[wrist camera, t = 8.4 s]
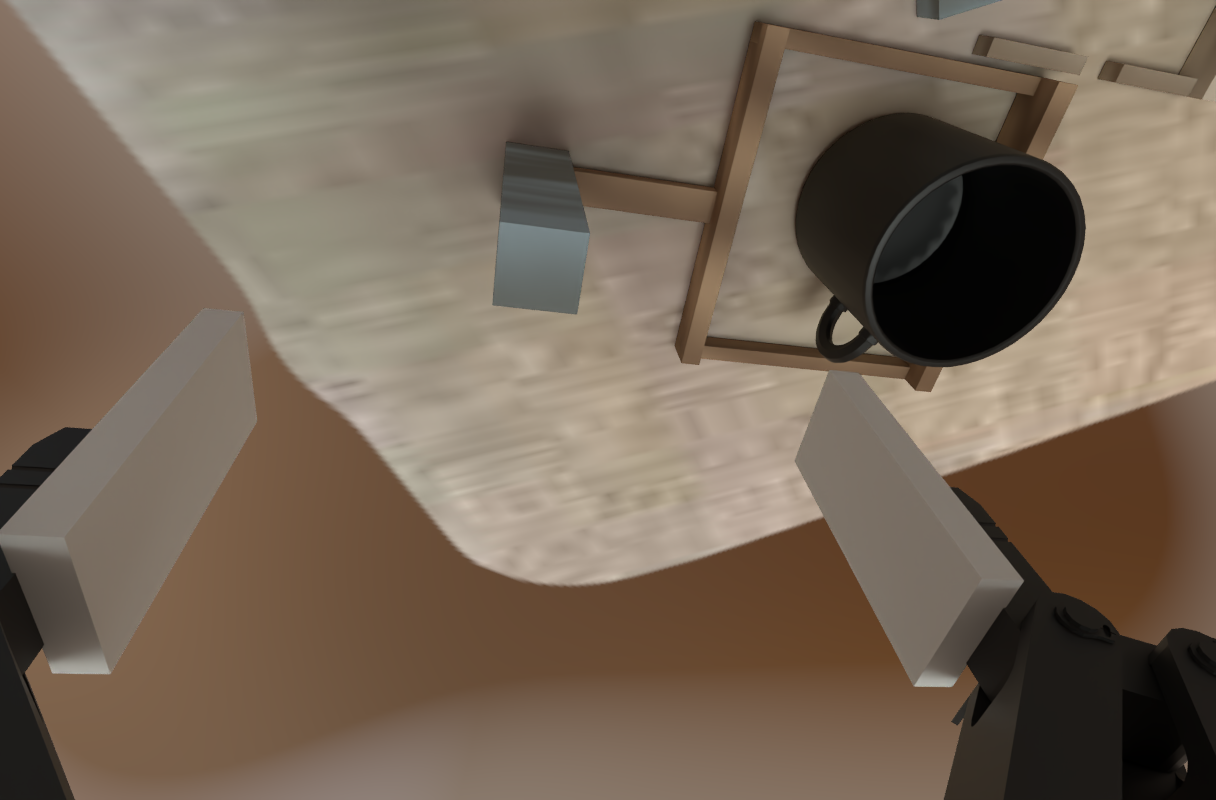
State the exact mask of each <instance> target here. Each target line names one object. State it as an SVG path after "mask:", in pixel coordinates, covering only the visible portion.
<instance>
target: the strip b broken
mask: <svg viewBox="0 0 1216 800" xmlns="http://www.w3.org/2000/svg"><path fill="white" fill-rule="evenodd" d="M998 1H1001V0H917V17H922V18H930V19H937V20H940V19H943V18H947V17H950V16H953V15H956V14H959V13H963V12H966V11H969V10H972V9H975V8H979V7H982V6H985V5H988V4H991V3H995V2H998ZM972 54H976V55H981V56H985V57H990V58H995V59H1001V60H1006V61H1011V62H1016V63H1021V64H1026V65H1031V66H1036V67H1041V68H1046V69H1051V70H1056V71H1061V72H1066V73H1071V74H1076V75H1080V73H1081V71H1082V69H1083V67H1084V65H1085V63H1086V61H1087V59H1088V56H1083V55H1078V54H1073V53H1068V52H1063V51H1058V50H1053V49H1049V48H1044V47H1039V46H1034V45H1029V44H1024V43H1019V42H1014V41H1009V40H1005V39H1000V38H995V37H989V36H982V35H979V38H978V40H977V43H976V45H975V48H974V50H973V53H972ZM1098 79H1102V80H1107V81H1112V82H1116V83H1121V84H1127V85H1132V86H1137V87H1142V88H1147V89H1152V90H1157V91H1162V92H1167V93H1172V94H1177V95H1182V96H1187V97H1192V98H1197V99H1202V100H1207V101H1212V102H1216V8H1215V9H1214V11H1213V13H1212V15H1211V17H1210V19H1209V20H1208V22H1207V24H1206V26H1205V28H1204V29H1203V31H1202V33H1201V35H1200V37H1199V39H1198V40H1197V42H1196V44H1195V46H1194V48H1193V50H1192V51H1191V53H1190V55H1189V57H1188V59H1187V61H1186V62H1185V64H1184V66H1183V68H1182V70H1181V72H1180V73H1179V75H1176V74H1171V73H1166V72H1161V71H1156V70H1151V69H1146V68H1141V67H1137V66H1132V65H1127V64H1121V63H1115V62H1110V61H1106V63H1105V65H1104V67H1103V69H1102V71H1101V73H1100V75H1099V77H1098Z"/></svg>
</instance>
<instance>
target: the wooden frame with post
mask: <svg viewBox="0 0 1216 800" xmlns="http://www.w3.org/2000/svg"><path fill="white" fill-rule="evenodd" d="M785 49H789V50H794V51H800V52H805V53H810V54H815V55H821V56H826V57H831V58H837V59H842V60H847V61H852V62H858V63H863V64H868V65H873V66H879V67H884V68H889V69H895V70H900V71H905V72H910V73H916V74H921V75H926V76H932V77H937V78H942V79H947V80H953V81H958V82H963V83H968V84H974V85H979V86H984V87H990V88H995V89H1000V90H1005V91H1011V92H1016V93H1017V95H1016V98H1015V100H1014V102H1013V105H1012V107H1011V109H1010V111H1009V114H1008V116H1007V118H1006V120H1005V123H1004V125H1003V127H1002V129H1001V132H1000V134H999V136H998V139H997V141H996V142H997V143H1000V144H1003V145H1005V146H1008V147H1011V148H1013V149H1016V150H1018V151H1021V152H1024V153H1026V154H1029V155H1032V156H1034V157H1037V158H1039V159H1042V160H1043V158H1044V156H1045V154H1046V152H1047V150H1048V147H1049V145H1050V143H1051V141H1052V139H1053V137H1054V135H1055V133H1056V131H1057V129H1058V127H1059V125H1060V123H1061V120H1062V118H1063V116H1064V114H1065V112H1066V110H1067V108H1068V106H1069V104H1070V102H1071V100H1072V98H1073V96H1074V93H1075V91H1076V89H1077V87H1078V85H1074V84H1070V83H1065V82H1061V81H1056V80H1052V79H1047V78H1043V77H1038V76H1033V75H1027V74H1022V73H1017V72H1012V71H1007V70H1002V69H997V68H992V67H986V66H981V65H976V64H971V63H966V62H961V61H956V60H951V59H946V58H940V57H935V56H930V55H925V54H920V53H915V52H910V51H905V50H900V49H894V48H889V47H884V46H879V45H874V44H869V43H864V42H859V41H853V40H848V39H843V38H838V37H833V36H828V35H823V34H818V33H813V32H807V31H802V30H797V29H792V28H787V27H782V26H777V25H772V24H767V23H761V22H756V21H755V23H754V27H753V31H752V35H751V39H750V43H749V47H748V51H747V55H746V59H745V63H744V67H743V71H742V75H741V79H740V83H739V88H738V92H737V96H736V100H735V104H734V108H733V112H732V116H731V120H730V124H729V128H728V132H727V136H726V140H725V144H724V148H723V152H722V157H721V161H720V165H719V169H718V173H717V177H716V181H715V185H714V188H713V187H706V186H699V185H692V184H686V183H679V182H672V181H665V180H659V179H652V178H645V177H638V176H632V175H625V174H618V173H611V172H605V171H598V170H591V169H584V168H578V167H573V165H572V161H571V157H570V153H569V151H565V150H558V149H552V148H545V147H538V146H532V145H525V144H519V143H512V142H506V151H505V163H504V174H503V185H502V196H501V208H500V220H499V232H498V244H497V256H496V268H495V280H494V292H493V304H492V305H495V306H504V307H513V308H522V309H532V310H541V311H550V312H559V313H568V314H577V312H578V305H579V299H580V293H581V287H582V280H583V274H584V268H585V261H586V255H587V249H588V243H589V236H590V232H589V228H588V224H587V220H586V216H585V212H584V208H583V206H587V207H594V208H602V209H609V210H616V211H623V212H631V213H638V214H645V215H652V216H660V217H667V218H674V219H681V220H688V221H696V222H703V223H705V226H704V230H703V234H702V238H701V242H700V246H699V250H698V254H697V258H696V262H695V266H694V270H693V274H692V278H691V282H690V286H689V290H688V295H687V299H686V303H685V307H684V311H683V315H682V319H681V323H680V327H679V331H678V335H677V339H676V343H675V348H676V350H677V353H678V355H679V358H680V360H681V363H685V364H695V365H699V363H700V359H701V358H702V359H712V360H721V361H731V362H741V363H751V364H761V365H771V366H781V367H791V368H800V369H810V370H820V371H829V370H836V371H846V372H856V373H859V374H860V375H869V376H879V377H889V378H899V379H905V380H906V381H907V382H908V383H909V384H910V385H911V386H912V387H913V388H914V390H916V391H926V392H931V391H932V388H933V386H934V384H935V382H936V380H937V378H938V376H939V374H940V372H941V370H942V368H943V367H927V366H920V365H916V364H913V363H909V362H907V361H904V360H902V359H900V358H898V357H890V356H881V355H871V354H862V355H860V356H858V357H857V358H855V359H853V360H850V361H848V362H845V363H833V362H830V361H829V360H827V359H826V358H825V357H824V356H822V355H821V354H820V352H819V351H818V349H815V348H806V347H797V346H788V345H778V344H769V343H760V342H750V341H741V340H732V339H722V338H713V337H707V334H708V330H709V326H710V322H711V319H712V315H713V311H714V308H715V304H716V300H717V297H718V293H719V289H720V286H721V282H722V278H723V275H724V271H725V267H726V263H727V260H728V256H729V252H730V249H731V245H732V241H733V238H734V234H735V230H736V227H737V223H738V219H739V215H740V212H741V208H742V204H743V201H744V197H745V193H746V190H747V186H748V182H749V179H750V175H751V171H752V168H753V164H754V160H755V156H756V153H757V149H758V145H759V142H760V138H761V134H762V131H763V127H764V123H765V120H766V116H767V112H768V109H769V105H770V101H771V97H772V94H773V90H774V86H775V83H776V79H777V75H778V72H779V68H780V64H781V61H782V57H783V53H784V50H785Z"/></svg>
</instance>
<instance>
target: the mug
mask: <svg viewBox="0 0 1216 800" xmlns="http://www.w3.org/2000/svg"><path fill="white" fill-rule="evenodd" d="M1085 229H1086V226H1085V215H1084V209H1083V206H1082V202H1081V199H1080V196H1079V194H1078V193H1077V191H1076V189H1075V187H1074V185H1073V184H1072V183H1071V181H1070V180H1069V179H1068V178H1067V177H1066V176H1065V174H1064V173H1063V172H1062V171H1060V170H1059V169H1058V168H1056V167H1055V166H1053V165H1052V164H1050V163H1048V162H1046V161H1044V160H1042V159H1039V158H1037V157H1034V156H1032V155H1029V154H1026V153H1024V152H1021V151H1018V150H1016V149H1013V148H1011V147H1008V146H1005V145H1003V144H1000V143H997V142H995V141H992V140H989V139H987V138H984V137H982V136H979V135H976V134H974V133H971V132H968V131H966V130H963V129H961V128H958V127H955V126H953V125H950V124H947V123H945V122H942V121H940V120H937V119H934V118H932V117H929V116H925V115H920V114H912V113H899V114H893V115H887V116H883V117H880V118H877V119H874V120H871V121H869V122H867V123H865V124H863V125H861V126H859V127H857V128H855V129H854V130H852V131H850V132H849V133H848V134H846V135H845V136H843V137H842V138H840V139H839V140H838V141H837V142H836V143H835V144H834V145H833V146H832V147H830V148H829V149H828V151H827V152H826V153H825V154H824V155H823V156H822V157H821V159H820V160H819V161H818V162H817V164H816V166H815V167H814V169H813V170H812V172H811V173H810V175H809V177H808V179H807V181H806V183H805V185H804V187H803V190H802V194H801V197H800V200H799V204H798V209H797V215H796V235H797V241H798V246H799V249H800V252H801V254H802V257H803V259H804V261H805V262H806V264H807V266H808V267H809V268H810V270H811V271H812V272H813V273H814V274H815V275H816V276H817V277H818V278H819V279H820V281H821V282H822V283H823V284H824V285H825V286H826V287H827V288H828V289H829V290H830V291H831V292H832V293H833V294H834V295H833V297H832V298H831V299H830V304H829V305H828V307H827V308H826V310H825V311H824V313H823V314H822V316H821V319H820V321H819V324H818V327H817V331H816V345H817V348H818V351H819V352H820V354H821V355H822V356H824V357H825V358H826V359H827V360H829V361H830V362H833V363H845V362H848V361H850V360H853V359H855V358H857V357H858V356H860V355H862V354H863V353H864V352H866V351H867V350H868V349H869V348H870V347H871V346H873V345H876V344H877V343H878V342H879V343H880V345H882V346H883V347H884V348H885V349H886V350H887V351H889V352H890V353H891V354H892V355H894V356H896V357H898V358H900V359H902V360H904V361H907V362H909V363H913V364H916V365H920V366H927V367H953V366H958V365H964V364H968V363H972V362H975V361H978V360H981V359H984V358H986V357H989V356H991V355H993V354H995V353H997V352H999V351H1001V350H1003V349H1005V348H1006V347H1008V346H1010V345H1012V344H1013V343H1015V342H1016V341H1018V340H1019V339H1020V338H1022V337H1023V336H1024V335H1026V334H1027V333H1028V332H1029V331H1031V330H1032V329H1033V328H1034V327H1035V326H1036V325H1037V324H1039V323H1040V322H1041V321H1042V320H1043V319H1044V318H1045V316H1046V315H1047V314H1048V313H1049V312H1050V311H1051V310H1052V309H1053V307H1054V306H1055V305H1056V304H1057V302H1058V301H1059V299H1060V298H1061V297H1062V295H1063V294H1064V292H1065V291H1066V289H1067V287H1068V285H1069V284H1070V282H1071V280H1072V278H1073V276H1074V274H1075V271H1076V269H1077V266H1078V264H1079V261H1080V258H1081V254H1082V250H1083V246H1084V240H1085ZM847 310H849V311H850V313H851V314H852V315H853V316H854V317H855V318H856V319H857V320H858V321H859V322H860V323H861V324H862V325H863V326H864V327H863V328H862V329H861V330H860V331H859V334H858V335H857V336H856V337H855V338H854V339H853V340H851V341H850V342H848V343H846V344H843V345H834V344H833V342H832V334H833V329H834V326H835V324H836V322H837V320H838V318H839V317H840V315H841V314H842V312H846V311H847Z"/></svg>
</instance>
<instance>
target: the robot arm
mask: <svg viewBox="0 0 1216 800" xmlns="http://www.w3.org/2000/svg"><path fill="white" fill-rule="evenodd" d="M256 422H257V416H256V408H255V401H254V392H253V385H252V377H251V368H250V361H249V352H248V344H247V336H246V328H245V321H244V313H243V312H238V311H227V310H218V309H206V308H203V309H202V311H201V312H200V313H199V314H198V315H197V316H196V317H195V318H194V319H193V320H192V321H191V322H190V324H189V325H188V326H187V327H186V328H185V329H184V330H183V331H182V332H181V333H180V334H179V335H178V337H177V338H176V339H175V340H174V341H173V342H172V343H171V344H170V345H169V346H168V348H167V349H166V350H165V351H164V352H163V353H162V354H161V355H160V356H159V357H158V358H157V359H156V361H155V362H154V363H153V364H152V365H151V366H150V367H149V368H148V369H147V370H146V371H145V373H144V374H143V375H142V376H141V377H140V378H139V379H138V380H137V381H136V382H135V383H134V385H133V386H132V387H131V388H130V389H129V390H128V391H127V392H126V393H125V394H124V395H123V396H122V398H121V399H120V400H119V401H118V402H117V403H116V404H115V405H114V406H113V407H112V408H111V410H110V411H109V412H108V413H107V414H106V415H105V416H104V417H103V418H102V419H101V420H100V422H99V423H98V424H97V425H96V426H95V427H94V428H93V429H82V428H68V427H65V428H63V429H61V430H59V431H57V432H56V433H54V434H52V435H50V436H48V437H46V438H44V439H43V440H41V441H39V442H37V443H35V444H33V445H32V446H31V447H30V448H29V449H28V450H27V451H26V452H25V453H24V454H23V455H22V456H21V457H20V458H19V459H18V460H17V461H16V462H15V463H14V464H13V465H12V469H11V470H7V471H6V472H5V473H4V474H3V475H2V476H1V477H0V800H75V799H74V796H73V794H72V791H71V789H70V786H69V783H68V781H67V778H66V776H65V773H64V771H63V768H62V765H61V763H60V760H59V758H58V755H57V753H56V750H55V747H54V745H53V742H52V740H51V737H50V735H49V732H48V729H47V727H46V724H45V722H44V719H43V717H42V714H41V712H40V709H39V706H38V704H37V701H36V699H35V696H34V694H33V691H32V688H31V686H30V683H29V681H28V679H27V677H26V674H25V671H26V670H27V669H28V667H29V666H30V664H31V663H32V661H33V660H34V659H35V657H36V656H37V654H38V653H39V652H40V650H41V649H42V648H43V651H44V653H45V656H46V658H47V661H48V663H49V665H50V668H51V670H52V673H69V674H70V673H71V674H111V672H112V671H113V669H114V667H115V665H116V663H117V662H118V660H119V658H120V657H121V655H122V653H123V651H124V650H125V648H126V646H127V645H128V643H129V641H130V640H131V638H132V636H133V634H134V633H135V631H136V629H137V627H138V626H139V624H140V622H141V621H142V619H143V617H144V615H145V614H146V612H147V610H148V608H149V607H150V605H151V603H152V601H153V600H154V598H155V596H156V595H157V593H158V591H159V589H160V588H161V586H162V584H163V583H164V581H165V579H166V577H167V576H168V574H169V572H170V571H171V568H172V567H173V565H174V564H175V562H176V560H177V558H178V557H179V555H180V553H181V551H182V550H183V548H184V546H185V545H186V543H187V541H188V539H189V538H190V536H191V534H192V532H193V531H194V529H195V527H196V526H197V524H198V522H199V521H200V519H201V517H202V515H203V514H204V512H205V510H206V508H207V507H208V505H209V503H210V502H211V500H212V498H213V496H214V495H215V493H216V491H217V490H218V488H219V486H220V484H221V483H222V481H223V479H224V477H225V476H226V474H227V472H228V471H229V469H230V467H231V465H232V464H233V462H234V460H235V458H236V457H237V455H238V453H239V452H240V450H241V448H242V446H243V445H244V443H245V441H246V439H247V438H248V436H249V434H250V433H251V431H252V429H253V427H254V426H255V424H256ZM795 463H796V465H797V466H798V468H799V470H800V472H801V474H802V476H803V478H804V480H805V482H806V483H807V485H808V487H809V489H810V491H811V493H812V495H813V497H814V499H815V500H816V502H817V504H818V506H819V508H820V510H821V512H822V514H823V516H824V517H825V519H826V521H827V523H828V525H829V527H830V529H831V531H832V533H833V534H834V536H835V538H836V540H837V542H838V544H839V546H840V547H841V549H842V551H843V553H844V555H845V557H846V559H847V560H848V563H849V565H850V567H851V568H852V570H853V572H854V574H855V576H856V578H857V580H858V582H859V583H860V585H861V587H862V589H863V591H864V593H865V595H866V597H867V599H868V600H869V602H870V604H871V606H872V608H873V610H874V612H875V613H876V616H877V617H878V619H879V621H880V623H881V625H882V627H883V629H884V631H885V633H886V634H887V636H888V638H889V640H890V642H891V644H892V646H893V648H894V650H895V651H896V653H897V655H898V657H899V659H900V661H901V662H902V665H903V667H904V668H905V670H906V672H907V674H908V676H909V678H910V680H911V682H912V683H913V685H914V686H923V687H926V686H928V687H952V686H953V685H954V683H955V682H956V680H957V679H958V677H959V676H960V675H961V673H962V672H963V670H964V669H965V667H966V666H967V665H968V667H969V668H970V670H971V671H972V673H973V675H974V676H975V678H976V680H977V681H978V684H977V686H976V687H975V689H974V690H973V691H972V693H971V694H970V696H969V697H968V698H967V700H966V701H965V703H964V704H963V705H962V707H961V708H960V710H959V711H958V713H957V714H956V715H955V717H954V718H953V720H952V721H951V722H953V723H954V724H956V725H958V724H959V723H960V722H961V720H962V719H963V718H964V720H963V724H962V728H961V732H960V736H959V741H958V745H957V748H956V752H955V756H954V761H953V765H952V769H951V773H950V777H949V781H948V785H947V789H946V793H945V797H944V800H1216V639H1214V638H1211V637H1209V636H1207V635H1204V634H1202V633H1200V632H1197V631H1193V630H1189V629H1184V628H1178V629H1171V631H1170V632H1169V633H1168V634H1167V635H1166V636H1165V637H1164V638H1163V640H1162V641H1161V642H1160V643H1159V644H1158V645H1157V646H1156V645H1153V644H1149V643H1145V642H1142V641H1139V640H1135V639H1132V638H1128V637H1125V636H1122V635H1119V633H1118V631H1117V630H1116V629H1115V627H1114V626H1113V625H1112V623H1111V622H1110V621H1109V620H1108V619H1107V618H1106V617H1105V616H1103V615H1102V614H1101V613H1100V612H1099V611H1097V610H1096V609H1095V608H1093V607H1091V606H1090V605H1088V604H1086V603H1085V602H1083V601H1081V600H1079V599H1077V598H1074V597H1071V596H1069V595H1066V594H1061V593H1054V592H1052V591H1051V590H1050V589H1049V587H1048V586H1047V585H1046V584H1045V582H1044V581H1043V580H1042V579H1041V578H1040V576H1039V575H1038V574H1037V573H1036V572H1035V570H1034V569H1033V568H1032V567H1031V566H1030V564H1029V563H1028V562H1027V561H1026V559H1025V558H1024V557H1023V556H1022V555H1021V553H1020V552H1019V551H1018V550H1017V549H1016V547H1015V546H1014V545H1013V544H1012V543H1011V542H1008V538H1007V536H1006V535H1005V534H1004V533H1003V532H1002V530H1001V529H1000V528H999V527H996V526H995V524H996V523H995V522H994V521H993V519H992V518H991V517H990V516H989V515H988V514H987V512H986V511H985V510H984V509H983V508H982V506H981V505H980V504H979V503H977V502H976V501H975V500H973V499H972V498H971V497H969V496H968V495H967V494H966V493H964V492H963V491H961V490H960V489H959V488H954V487H949V486H948V484H947V483H946V482H945V481H944V479H943V478H942V477H941V476H940V474H939V473H938V472H937V471H936V469H935V468H934V467H933V466H932V464H931V463H930V462H929V461H928V459H927V458H926V457H925V456H924V454H923V453H922V452H921V451H920V449H919V448H918V447H917V445H916V444H915V443H914V442H913V440H912V439H911V438H910V437H909V435H908V434H907V433H906V432H905V430H904V429H903V428H902V427H901V425H900V424H899V423H898V422H897V420H896V419H895V418H894V417H893V415H892V414H891V413H890V412H889V410H888V409H887V408H886V407H885V405H884V404H883V403H882V401H881V400H880V399H879V398H878V396H877V395H876V394H875V393H874V391H873V390H872V389H871V388H870V386H869V385H868V384H867V383H866V381H865V380H864V379H863V378H862V376H861V375H860V374H859V373H856V372H846V371H836V370H829V372H828V375H827V377H826V380H825V382H824V385H823V388H822V390H821V393H820V396H819V398H818V401H817V403H816V406H815V409H814V411H813V414H812V417H811V419H810V422H809V424H808V427H807V430H806V432H805V435H804V437H803V440H802V443H801V445H800V448H799V451H798V453H797V456H796V458H795ZM1187 761H1188V770H1187V772H1186V769H1185V767H1184V763H1186V762H1187Z"/></svg>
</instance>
